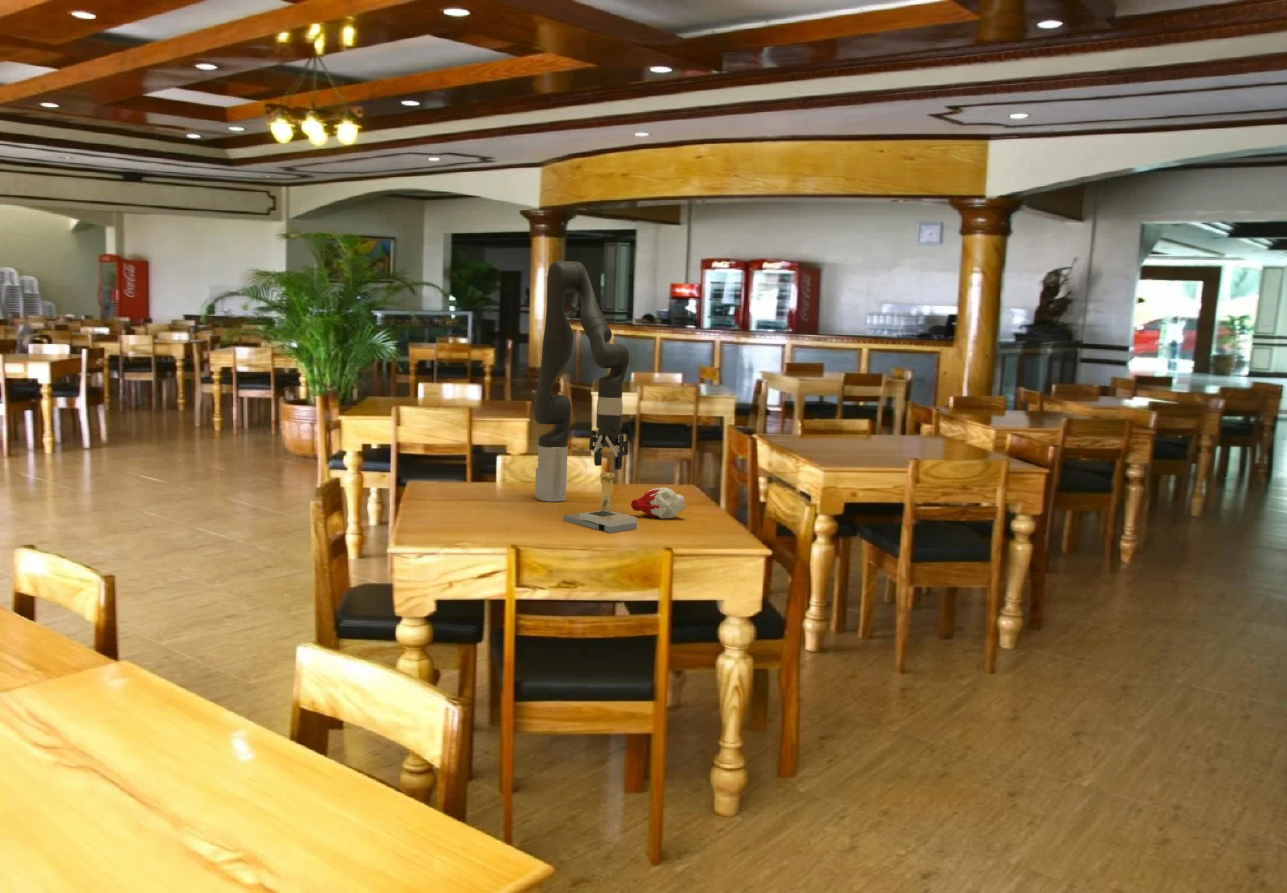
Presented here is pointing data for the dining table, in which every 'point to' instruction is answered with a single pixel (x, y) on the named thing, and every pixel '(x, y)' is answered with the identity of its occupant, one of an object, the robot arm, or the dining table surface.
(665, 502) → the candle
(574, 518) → the grey slotted base plate
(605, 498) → the pin
